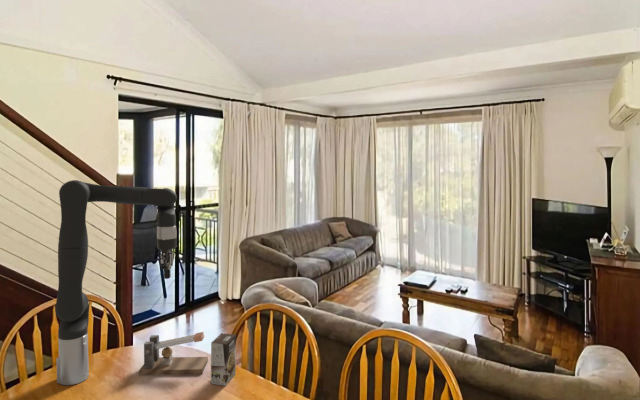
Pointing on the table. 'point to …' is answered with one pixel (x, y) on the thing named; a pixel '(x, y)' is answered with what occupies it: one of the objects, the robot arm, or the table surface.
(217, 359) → the coffee box
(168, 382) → the table surface
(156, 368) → the press base
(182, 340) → the lever
